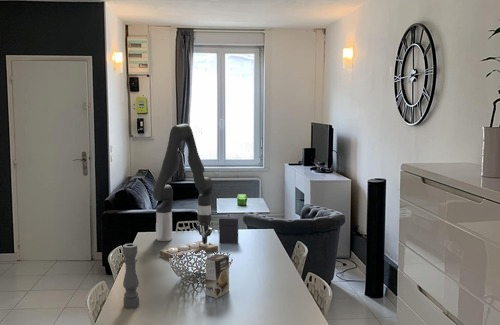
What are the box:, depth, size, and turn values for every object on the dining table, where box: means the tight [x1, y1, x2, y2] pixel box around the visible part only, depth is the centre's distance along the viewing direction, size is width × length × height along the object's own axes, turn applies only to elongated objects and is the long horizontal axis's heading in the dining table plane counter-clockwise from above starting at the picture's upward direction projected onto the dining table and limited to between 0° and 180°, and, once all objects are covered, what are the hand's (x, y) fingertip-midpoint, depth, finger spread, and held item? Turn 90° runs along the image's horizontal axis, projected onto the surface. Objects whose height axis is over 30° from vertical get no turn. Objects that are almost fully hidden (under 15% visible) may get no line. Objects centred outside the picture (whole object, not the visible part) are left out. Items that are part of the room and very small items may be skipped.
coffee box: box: [205, 253, 230, 299], centre depth 210 cm, size 9×6×16 cm
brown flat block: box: [159, 240, 219, 260], centre depth 268 cm, size 14×29×3 cm, turn 132°
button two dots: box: [169, 247, 178, 254], centre depth 261 cm, size 5×5×3 cm
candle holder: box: [122, 242, 140, 310], centre depth 196 cm, size 6×6×25 cm
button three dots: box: [189, 242, 199, 249], centre depth 271 cm, size 5×5×3 cm
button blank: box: [179, 244, 189, 251], centre depth 266 cm, size 5×5×2 cm
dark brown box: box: [218, 217, 239, 245], centre depth 288 cm, size 11×4×15 cm, turn 84°
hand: (204, 243), depth 275 cm, fingers closed
